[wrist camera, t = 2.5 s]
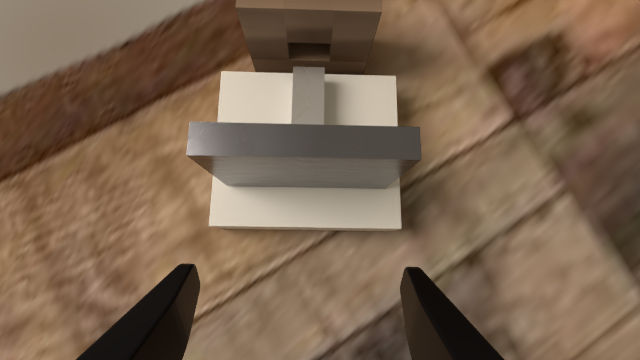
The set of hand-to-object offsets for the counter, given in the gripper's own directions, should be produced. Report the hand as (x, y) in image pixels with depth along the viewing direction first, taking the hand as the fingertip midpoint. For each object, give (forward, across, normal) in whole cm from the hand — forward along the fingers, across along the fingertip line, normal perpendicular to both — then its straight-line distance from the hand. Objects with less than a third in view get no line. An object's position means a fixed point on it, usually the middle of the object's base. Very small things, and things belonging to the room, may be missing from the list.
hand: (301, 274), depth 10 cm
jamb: (+21, 0, -1) cm, 21 cm away
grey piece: (+13, 0, +1) cm, 13 cm away
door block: (+15, 0, +4) cm, 15 cm away
